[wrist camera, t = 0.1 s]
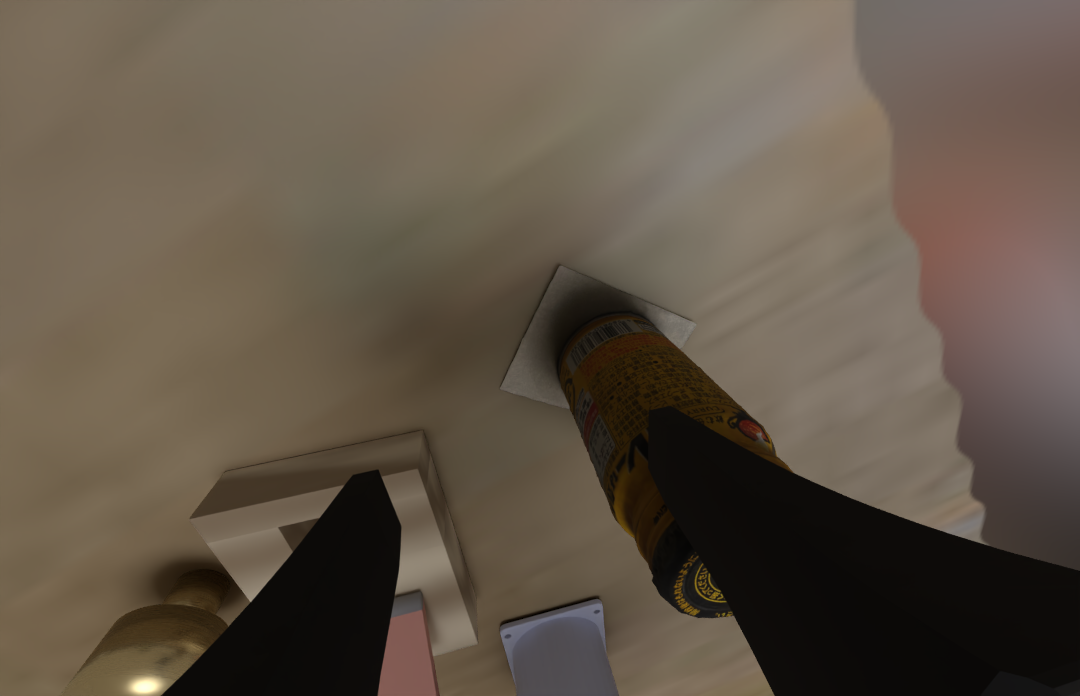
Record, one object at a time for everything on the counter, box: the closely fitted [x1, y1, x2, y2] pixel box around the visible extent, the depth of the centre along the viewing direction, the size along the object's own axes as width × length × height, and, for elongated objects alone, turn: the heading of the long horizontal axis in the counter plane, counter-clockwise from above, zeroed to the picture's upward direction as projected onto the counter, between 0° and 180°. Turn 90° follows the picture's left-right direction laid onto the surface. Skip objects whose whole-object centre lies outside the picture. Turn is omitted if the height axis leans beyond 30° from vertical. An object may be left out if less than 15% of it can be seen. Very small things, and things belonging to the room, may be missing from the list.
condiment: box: [500, 265, 793, 618], centre depth 16 cm, size 7×8×12 cm
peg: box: [60, 570, 230, 696], centre depth 20 cm, size 5×5×6 cm
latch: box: [378, 591, 440, 696], centre depth 21 cm, size 6×6×1 cm
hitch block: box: [189, 430, 478, 656], centre depth 22 cm, size 15×10×3 cm, turn 7°
